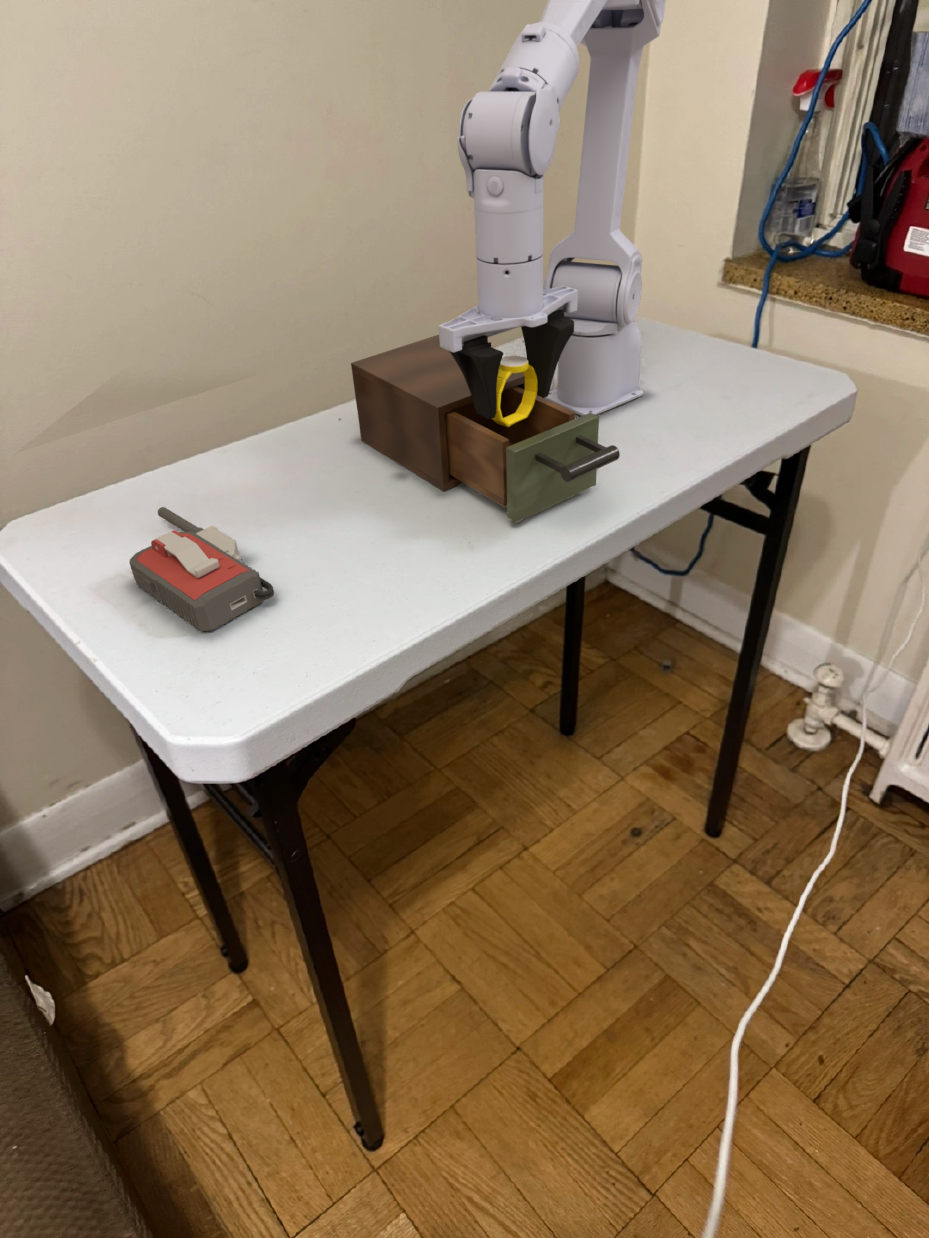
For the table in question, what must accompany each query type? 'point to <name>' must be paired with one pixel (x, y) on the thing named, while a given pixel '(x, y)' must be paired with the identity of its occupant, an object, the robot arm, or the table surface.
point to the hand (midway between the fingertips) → (512, 404)
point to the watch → (531, 387)
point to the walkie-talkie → (198, 574)
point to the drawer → (525, 454)
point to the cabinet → (413, 405)
